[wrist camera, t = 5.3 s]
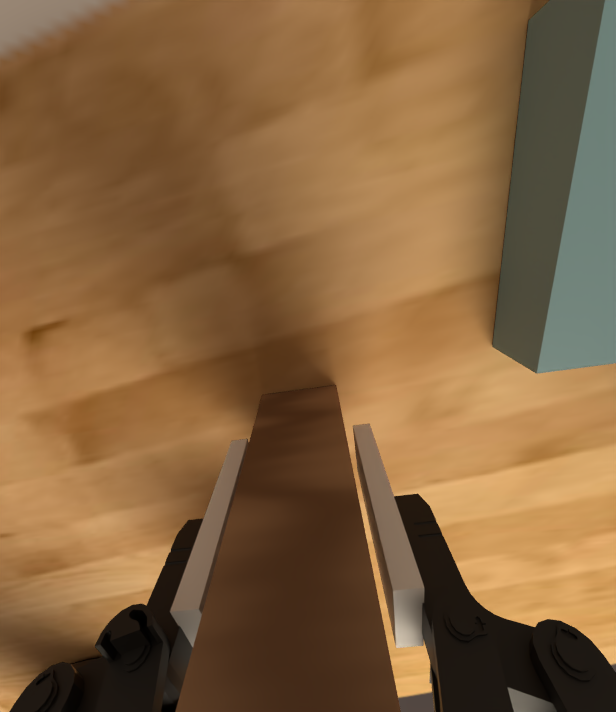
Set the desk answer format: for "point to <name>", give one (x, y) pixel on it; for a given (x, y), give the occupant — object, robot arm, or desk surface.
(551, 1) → the socket block
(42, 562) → the desk surface
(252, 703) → the square bit
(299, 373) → the desk surface
